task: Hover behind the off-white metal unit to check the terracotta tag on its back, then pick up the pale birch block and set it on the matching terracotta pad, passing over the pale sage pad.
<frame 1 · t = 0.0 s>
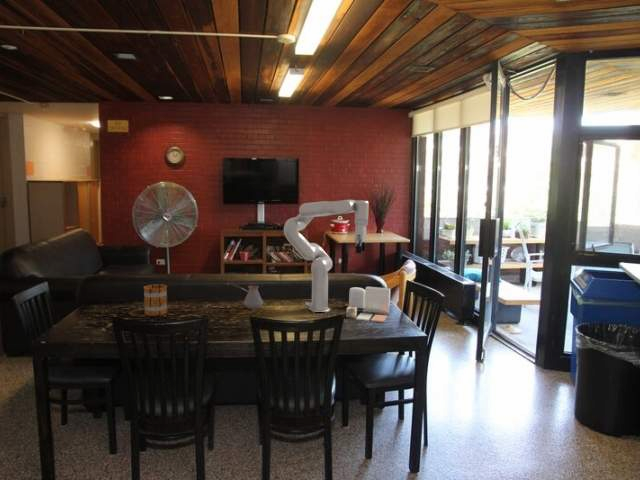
hand: (360, 252, 282), 37 cm above the table, tool pointing down, fingers open, 9 cm apart
terracotta pad: (379, 319, 278), on the table
wall unit: (377, 312, 293), on the table
birch block: (351, 316, 283), on the table
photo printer: (356, 307, 303), on the table
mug: (158, 311, 285), on the table
sage pad: (364, 317, 281), on the table
coffee pot: (245, 307, 298), on the table
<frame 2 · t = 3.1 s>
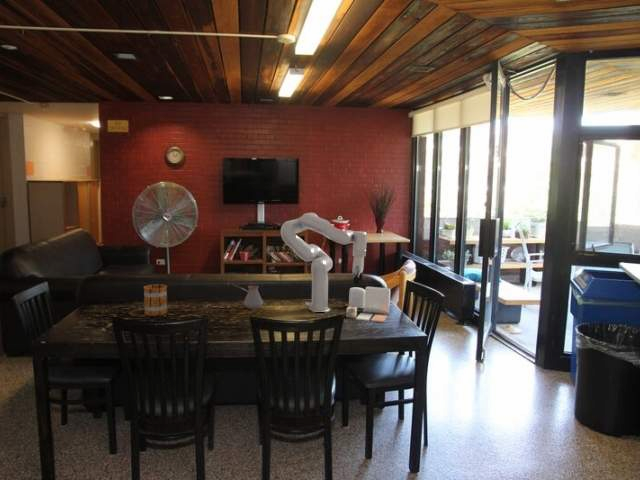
hand: (357, 282, 284), 19 cm above the table, tool pointing down, fingers open, 9 cm apart
nothing on the table moved.
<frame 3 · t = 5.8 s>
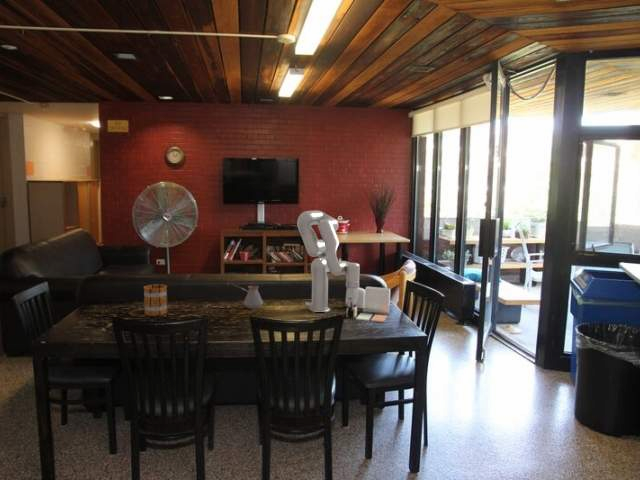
hand: (351, 315, 283), 0 cm above the table, tool pointing down, fingers closed on birch block, 5 cm apart
birch block: (351, 316, 283), on the table, touching gripper
everything else where it was.
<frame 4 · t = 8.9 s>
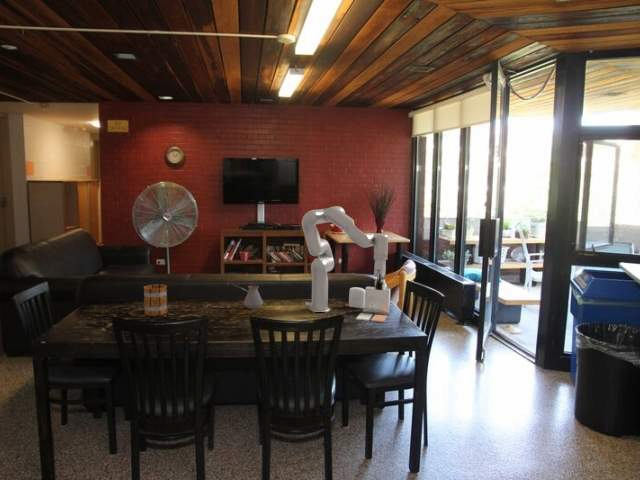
hand: (379, 288, 276), 18 cm above the table, tool pointing down, fingers closed on birch block, 5 cm apart
birch block: (379, 289, 276), point 17 cm above the table, touching gripper
everything else where it was.
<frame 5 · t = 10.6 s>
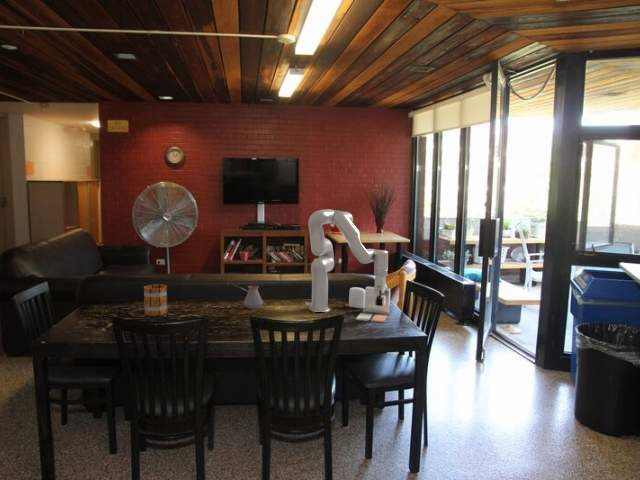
hand: (380, 304, 277), 9 cm above the table, tool pointing down, fingers closed on birch block, 5 cm apart
birch block: (380, 304, 277), point 8 cm above the table, touching gripper
everything else where it was.
when the fingers open (3 cm above the table, at t = 12.1 s): birch block drops 1 cm, resting on terracotta pad.
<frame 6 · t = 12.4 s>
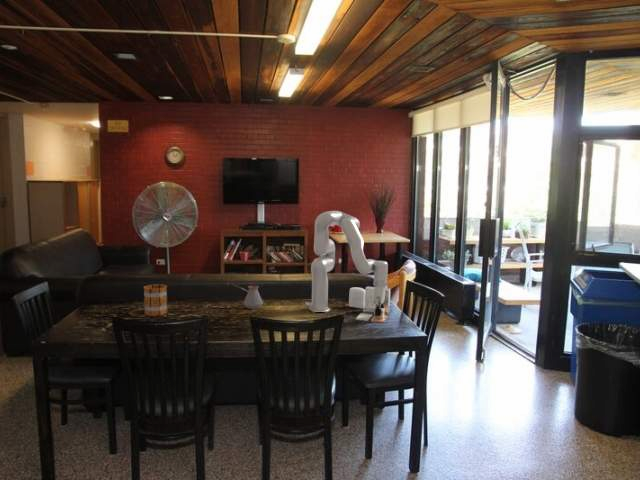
hand: (379, 313, 278), 3 cm above the table, tool pointing down, fingers open, 7 cm apart
birch block: (379, 317, 278), point 1 cm above the table, touching terracotta pad
everything else where it was.
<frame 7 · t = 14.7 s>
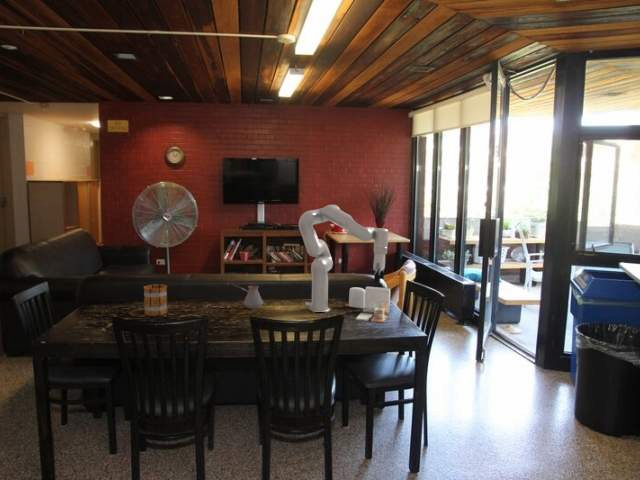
hand: (378, 280, 280), 21 cm above the table, tool pointing down, fingers open, 9 cm apart
nothing on the table moved.
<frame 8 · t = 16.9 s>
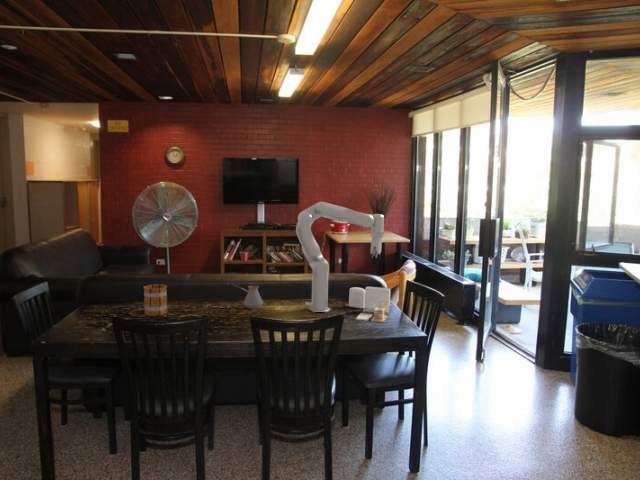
hand: (376, 263, 297), 28 cm above the table, tool pointing down, fingers open, 9 cm apart
nothing on the table moved.
at the end: birch block inside the target area on the terracotta pad (0.1 cm from its centre), point 0.8 cm above the terracotta pad's base; birch block tilted 0°; the gripper is holding nothing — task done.
